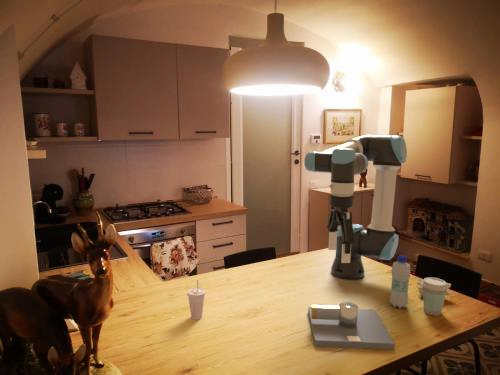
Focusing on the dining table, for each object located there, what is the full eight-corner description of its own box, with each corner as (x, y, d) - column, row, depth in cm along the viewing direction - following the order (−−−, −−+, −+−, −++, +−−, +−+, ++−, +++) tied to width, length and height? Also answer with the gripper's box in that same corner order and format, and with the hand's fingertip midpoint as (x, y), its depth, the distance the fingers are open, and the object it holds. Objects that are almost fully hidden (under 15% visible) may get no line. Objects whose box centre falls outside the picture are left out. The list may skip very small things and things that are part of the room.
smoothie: (200, 323, 128) (200, 284, 126) (184, 319, 130) (183, 281, 128) (208, 314, 134) (208, 277, 132) (193, 311, 136) (192, 275, 134)
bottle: (409, 310, 139) (413, 259, 136) (390, 309, 140) (394, 257, 137) (405, 302, 145) (409, 253, 142) (387, 301, 146) (391, 252, 144)
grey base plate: (308, 312, 137) (308, 306, 136) (374, 314, 135) (375, 308, 135) (315, 346, 115) (315, 339, 115) (394, 349, 114) (394, 342, 113)
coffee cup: (450, 316, 135) (453, 285, 133) (429, 318, 133) (431, 286, 131) (435, 305, 143) (437, 276, 141) (414, 307, 141) (417, 277, 140)
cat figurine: (417, 276, 156) (449, 274, 150) (421, 290, 158) (453, 289, 152) (415, 288, 150) (448, 287, 143) (420, 303, 151) (453, 302, 145)
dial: (354, 319, 128) (355, 302, 127) (358, 328, 122) (359, 310, 121) (310, 317, 129) (311, 300, 128) (312, 326, 123) (312, 309, 122)
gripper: (320, 189, 137) (317, 245, 140) (343, 201, 112) (340, 269, 115) (339, 189, 137) (337, 244, 140) (367, 201, 113) (363, 268, 116)
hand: (338, 255), depth 128 cm, fingers open, 13 cm apart
